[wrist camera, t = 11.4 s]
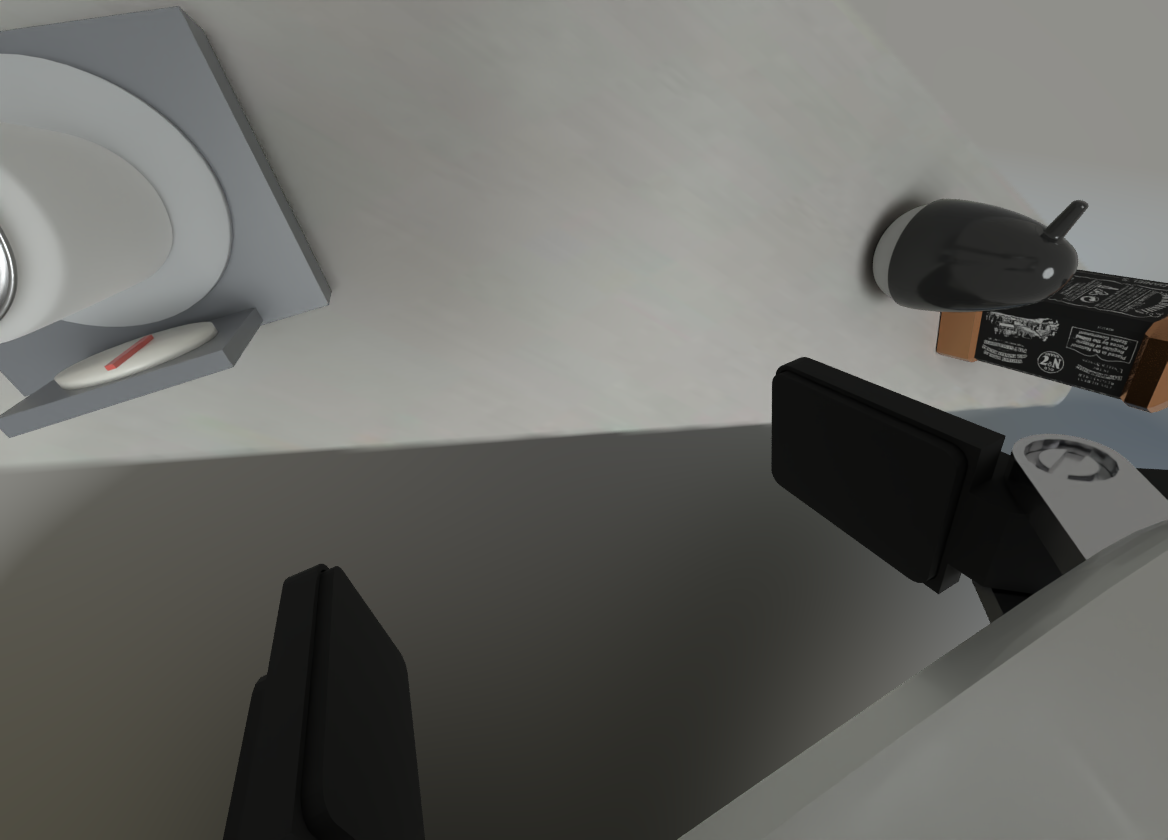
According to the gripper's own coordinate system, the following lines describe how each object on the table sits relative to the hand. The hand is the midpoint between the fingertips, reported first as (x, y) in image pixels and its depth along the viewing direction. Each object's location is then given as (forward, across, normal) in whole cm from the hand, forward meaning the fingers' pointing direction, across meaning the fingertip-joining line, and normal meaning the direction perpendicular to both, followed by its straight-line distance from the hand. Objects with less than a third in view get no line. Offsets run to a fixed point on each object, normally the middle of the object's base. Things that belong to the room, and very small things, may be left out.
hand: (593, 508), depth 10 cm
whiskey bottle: (+28, -61, +22) cm, 71 cm away
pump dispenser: (+28, -46, +11) cm, 55 cm away
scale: (+28, +14, -8) cm, 32 cm away
